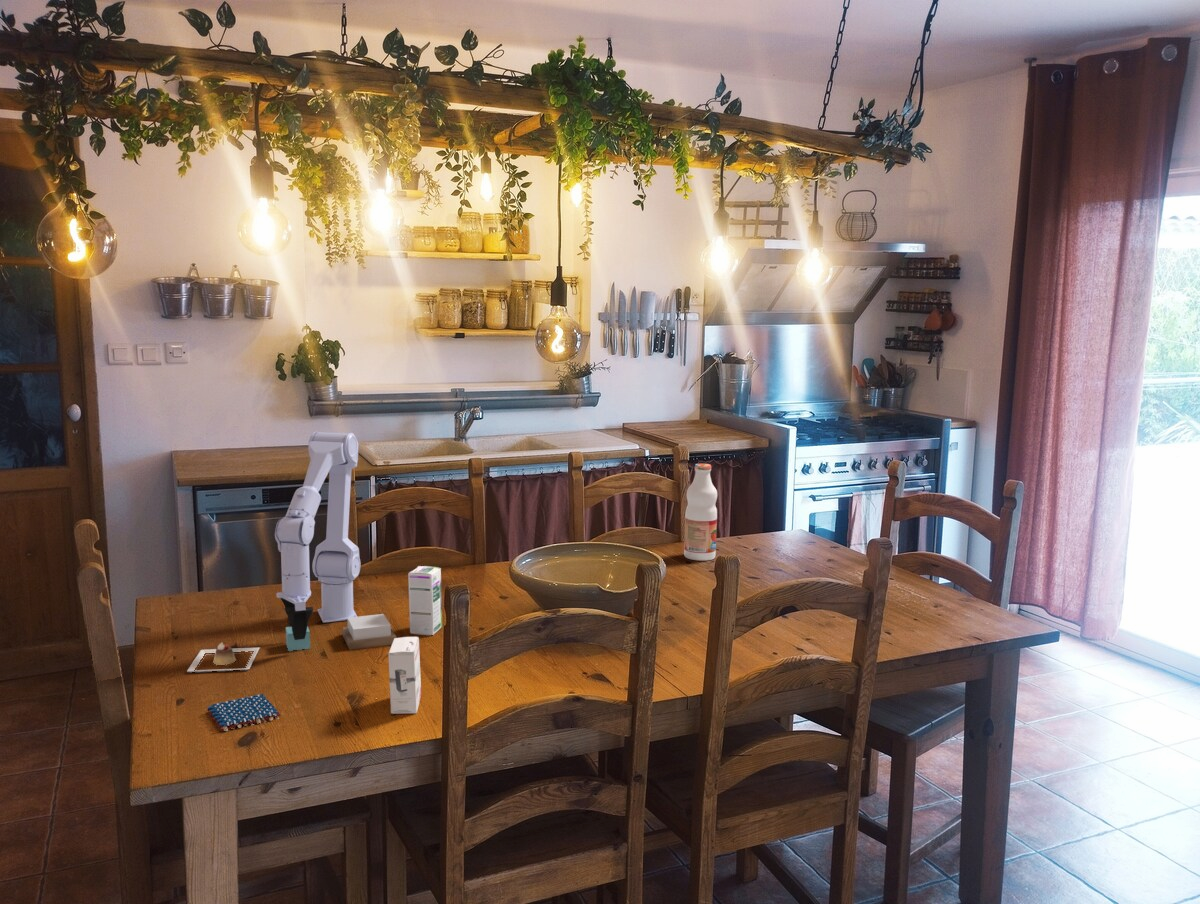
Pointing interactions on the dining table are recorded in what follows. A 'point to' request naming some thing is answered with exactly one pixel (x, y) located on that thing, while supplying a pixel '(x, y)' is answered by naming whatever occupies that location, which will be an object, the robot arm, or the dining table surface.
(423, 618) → the syrup box
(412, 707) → the ink box
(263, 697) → the woven mat
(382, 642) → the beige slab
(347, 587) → the robot arm
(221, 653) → the dessert
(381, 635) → the white slab
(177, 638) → the dining table surface
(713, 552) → the fruit juice
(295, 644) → the teal cube
